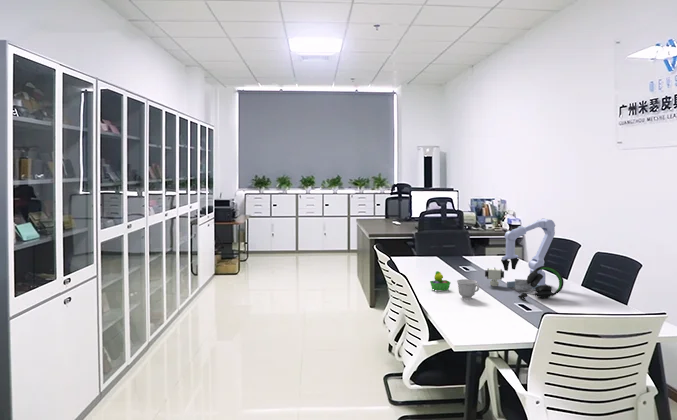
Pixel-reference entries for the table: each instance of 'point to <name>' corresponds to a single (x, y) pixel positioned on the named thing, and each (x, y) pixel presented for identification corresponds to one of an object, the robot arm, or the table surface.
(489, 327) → the table surface
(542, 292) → the headset
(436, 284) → the fruit basket
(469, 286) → the teacup
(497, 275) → the pneumatic valve
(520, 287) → the angle bracket
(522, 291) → the pad
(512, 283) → the corner walls
